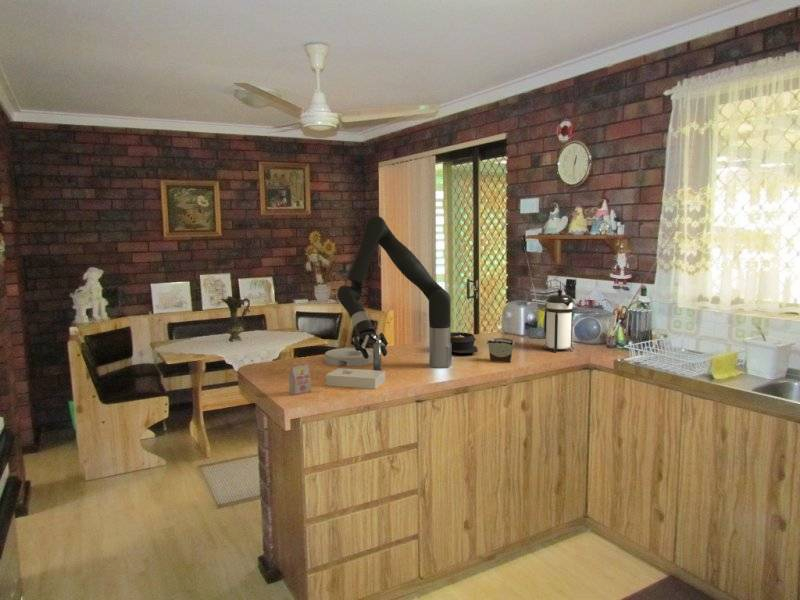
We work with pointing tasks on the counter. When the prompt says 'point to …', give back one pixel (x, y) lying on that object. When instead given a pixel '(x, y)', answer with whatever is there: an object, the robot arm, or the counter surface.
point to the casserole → (462, 343)
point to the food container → (500, 349)
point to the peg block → (355, 378)
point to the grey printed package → (299, 380)
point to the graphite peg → (377, 356)
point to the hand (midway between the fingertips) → (376, 356)
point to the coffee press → (558, 321)
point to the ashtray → (348, 357)
